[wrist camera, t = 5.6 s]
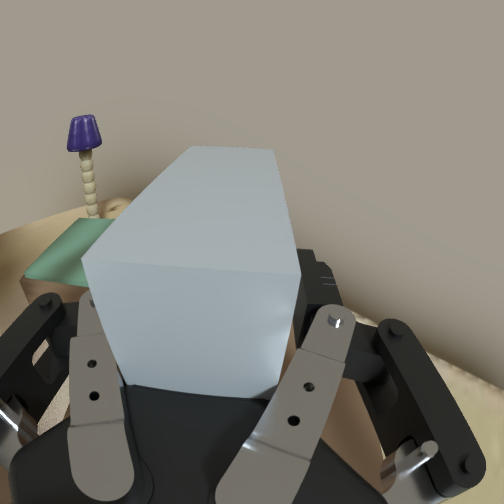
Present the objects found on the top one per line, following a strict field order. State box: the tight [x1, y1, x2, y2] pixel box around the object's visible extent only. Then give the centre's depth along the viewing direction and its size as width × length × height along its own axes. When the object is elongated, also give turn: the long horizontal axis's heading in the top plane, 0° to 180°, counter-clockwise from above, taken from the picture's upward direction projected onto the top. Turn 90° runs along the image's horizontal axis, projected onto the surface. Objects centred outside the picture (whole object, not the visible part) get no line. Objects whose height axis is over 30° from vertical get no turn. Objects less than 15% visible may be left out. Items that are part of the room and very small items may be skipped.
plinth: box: [19, 218, 115, 304], centre depth 26 cm, size 12×12×6 cm
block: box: [81, 146, 301, 400], centre depth 11 cm, size 4×9×11 cm, turn 179°
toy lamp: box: [67, 115, 102, 219], centre depth 32 cm, size 5×5×17 cm
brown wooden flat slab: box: [63, 319, 383, 491], centre depth 15 cm, size 16×13×5 cm
